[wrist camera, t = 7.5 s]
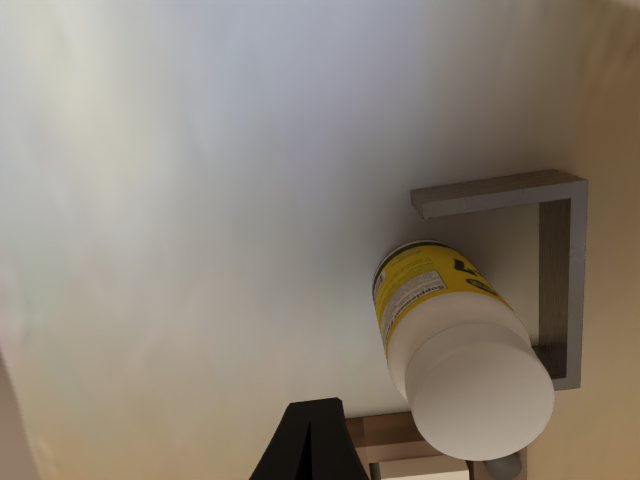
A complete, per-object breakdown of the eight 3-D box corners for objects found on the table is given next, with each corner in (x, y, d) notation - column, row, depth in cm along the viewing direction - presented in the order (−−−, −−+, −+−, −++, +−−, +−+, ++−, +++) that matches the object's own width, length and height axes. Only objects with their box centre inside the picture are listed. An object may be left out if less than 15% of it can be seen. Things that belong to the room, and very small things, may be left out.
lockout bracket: (554, 169, 18) (588, 179, 16) (551, 355, 21) (580, 388, 19) (410, 190, 19) (422, 203, 16) (426, 370, 21) (439, 404, 19)
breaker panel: (509, 400, 22) (532, 439, 19) (511, 490, 24) (532, 536, 21) (315, 422, 22) (313, 462, 20) (331, 508, 24) (332, 554, 22)
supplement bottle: (492, 295, 20) (601, 423, 12) (408, 347, 21) (457, 498, 13) (436, 216, 19) (516, 300, 11) (350, 275, 20) (365, 393, 12)
